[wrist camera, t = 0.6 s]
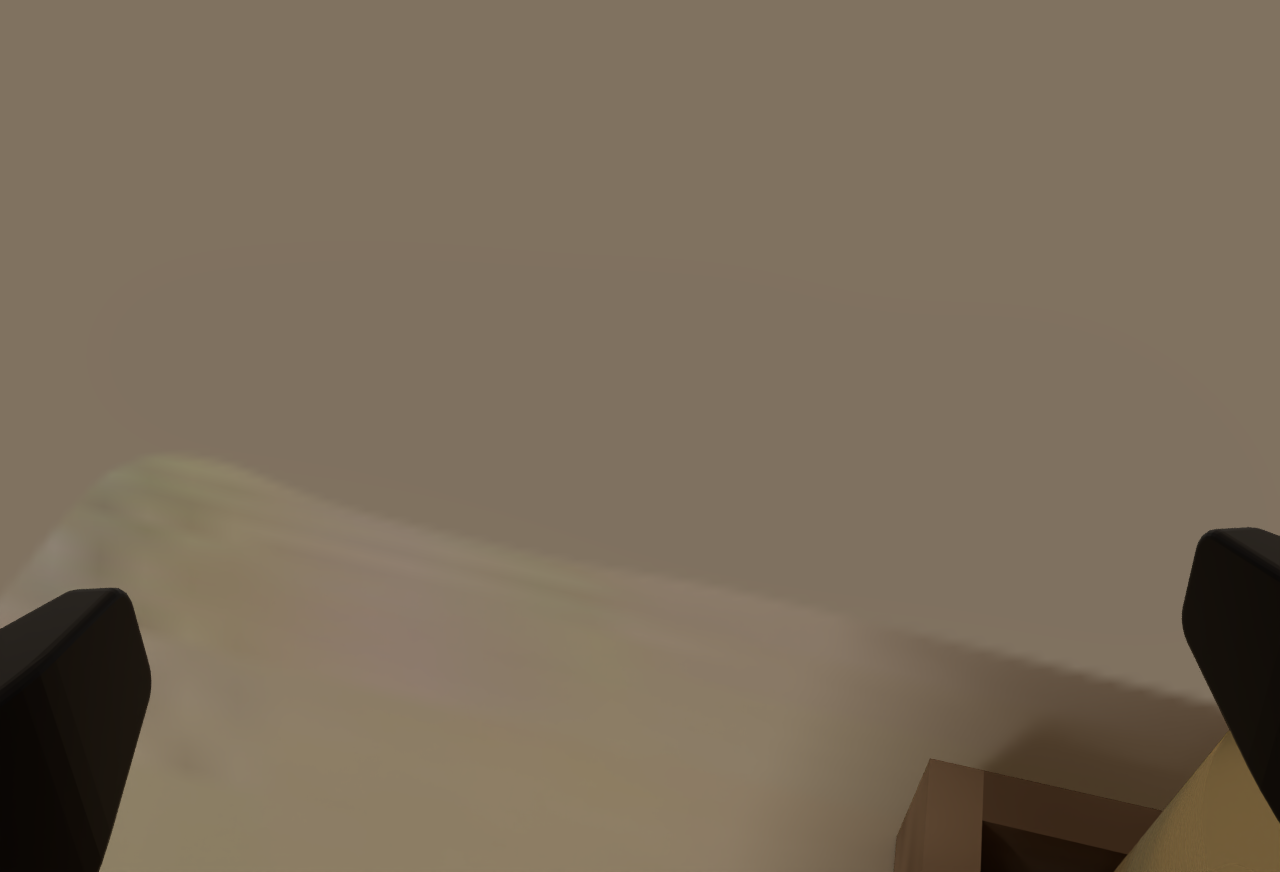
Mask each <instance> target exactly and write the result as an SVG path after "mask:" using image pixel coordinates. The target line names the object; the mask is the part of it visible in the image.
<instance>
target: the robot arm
mask: <svg viewBox="0 0 1280 872" xmlns="http://www.w3.org/2000/svg"><path fill="white" fill-rule="evenodd" d="M1182 625H1183V630H1184V635H1185V637H1186V640H1187V643H1188V645H1189V647H1190V649H1191V651H1192V653H1193V655H1194V657H1195V659H1196V661H1197V663H1198V666H1199V668H1200V670H1201V672H1202V674H1203V676H1204V678H1205V680H1206V682H1207V684H1208V686H1209V688H1210V690H1211V692H1212V694H1213V697H1214V699H1215V701H1216V703H1217V705H1218V707H1219V709H1220V711H1221V713H1222V715H1223V717H1224V719H1225V721H1226V723H1227V725H1228V728H1229V730H1230V732H1231V734H1232V736H1233V738H1234V740H1235V742H1236V744H1237V746H1238V748H1239V750H1240V752H1241V754H1242V756H1243V759H1244V761H1245V763H1246V765H1247V767H1248V769H1249V770H1250V772H1251V774H1252V776H1253V778H1254V780H1255V782H1256V784H1257V786H1258V788H1259V789H1260V791H1261V793H1262V795H1263V796H1264V798H1265V800H1266V801H1267V803H1268V805H1269V807H1270V808H1271V810H1272V812H1273V813H1274V815H1275V817H1276V818H1277V820H1278V822H1279V823H1280V536H1278V535H1275V534H1273V533H1270V532H1267V531H1265V530H1262V529H1258V528H1251V527H1247V528H1228V529H1214V530H1210V531H1208V532H1207V533H1205V534H1204V535H1203V536H1202V537H1201V539H1200V540H1199V542H1198V545H1197V548H1196V552H1195V556H1194V561H1193V565H1192V569H1191V573H1190V578H1189V582H1188V587H1187V591H1186V596H1185V600H1184V604H1183V610H1182ZM150 693H151V671H150V666H149V662H148V659H147V655H146V651H145V648H144V644H143V640H142V637H141V633H140V630H139V626H138V622H137V619H136V615H135V611H134V608H133V605H132V602H131V600H130V598H129V597H128V595H127V593H125V592H124V591H122V590H121V589H119V588H97V589H77V590H72V591H69V592H66V593H64V594H62V595H61V596H59V597H57V598H55V599H53V600H52V601H50V602H48V603H46V604H44V605H43V606H41V607H39V608H37V609H35V610H34V611H32V612H30V613H28V614H26V615H25V616H23V617H21V618H19V619H17V620H16V621H14V622H12V623H10V624H8V625H7V626H5V627H3V628H1V629H0V872H99V870H100V867H101V864H102V862H103V859H104V855H105V852H106V849H107V846H108V843H109V840H110V836H111V833H112V830H113V826H114V823H115V819H116V815H117V812H118V808H119V805H120V801H121V798H122V794H123V791H124V787H125V784H126V780H127V777H128V773H129V770H130V766H131V762H132V759H133V755H134V752H135V748H136V745H137V741H138V738H139V734H140V731H141V727H142V724H143V720H144V717H145V713H146V709H147V706H148V702H149V698H150Z"/></svg>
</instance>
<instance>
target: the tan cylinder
mask: <svg viewBox="0 0 1280 872" xmlns="http://www.w3.org/2000/svg"><path fill="white" fill-rule="evenodd" d="M1114 872H1280V823H1279V822H1278V820H1277V818H1276V817H1275V815H1274V813H1273V812H1272V810H1271V808H1270V807H1269V805H1268V803H1267V801H1266V800H1265V798H1264V796H1263V795H1262V793H1261V791H1260V789H1259V788H1258V786H1257V784H1256V782H1255V780H1254V778H1253V776H1252V774H1251V772H1250V770H1249V769H1248V767H1247V765H1246V763H1245V761H1244V759H1243V756H1242V754H1241V752H1240V750H1239V748H1238V746H1237V744H1236V742H1235V740H1234V738H1233V736H1232V734H1231V732H1230V730H1229V731H1228V732H1227V733H1226V735H1225V736H1224V737H1223V738H1222V740H1221V741H1220V742H1219V743H1218V745H1217V746H1216V747H1215V748H1214V749H1213V751H1212V752H1211V753H1210V754H1209V756H1208V757H1207V758H1206V759H1205V760H1204V762H1203V763H1202V764H1201V765H1200V767H1199V768H1198V769H1197V770H1196V772H1195V773H1194V774H1193V775H1192V776H1191V778H1190V779H1189V780H1188V781H1187V783H1186V784H1185V785H1184V786H1183V787H1182V789H1181V790H1180V791H1179V792H1178V794H1177V795H1176V796H1175V797H1174V798H1173V800H1172V801H1171V802H1170V803H1169V805H1168V806H1167V807H1166V808H1165V810H1164V811H1163V812H1162V813H1161V814H1160V816H1159V817H1158V818H1157V819H1156V821H1155V822H1154V823H1153V824H1152V825H1151V827H1150V828H1149V829H1148V830H1147V832H1146V833H1145V834H1144V835H1143V837H1142V838H1141V839H1140V840H1139V841H1138V843H1137V844H1136V845H1135V846H1134V848H1133V849H1132V850H1131V851H1130V852H1129V854H1128V855H1127V856H1126V857H1125V859H1124V860H1123V861H1122V862H1121V864H1120V865H1119V866H1118V867H1117V868H1116V870H1115V871H1114Z"/></svg>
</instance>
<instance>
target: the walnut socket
mask: <svg viewBox="0 0 1280 872" xmlns="http://www.w3.org/2000/svg"><path fill="white" fill-rule="evenodd" d="M1162 812H1163V811H1160V810H1156V809H1151V808H1147V807H1142V806H1138V805H1134V804H1129V803H1125V802H1120V801H1116V800H1111V799H1107V798H1103V797H1098V796H1094V795H1089V794H1085V793H1081V792H1076V791H1072V790H1067V789H1063V788H1058V787H1054V786H1050V785H1045V784H1041V783H1036V782H1032V781H1028V780H1023V779H1019V778H1014V777H1010V776H1005V775H1001V774H997V773H992V772H988V771H983V770H979V769H975V768H970V767H966V766H961V765H957V764H952V763H948V762H944V761H939V760H935V759H930V760H929V763H928V765H927V767H926V770H925V772H924V774H923V777H922V779H921V781H920V784H919V786H918V788H917V791H916V793H915V795H914V798H913V800H912V802H911V805H910V807H909V809H908V812H907V814H906V816H905V819H904V821H903V823H902V826H901V828H900V830H899V833H898V835H897V840H896V852H895V863H894V872H1114V871H1115V870H1116V868H1117V867H1118V866H1119V865H1120V864H1121V862H1122V861H1123V860H1124V859H1125V857H1126V856H1127V855H1128V854H1129V852H1130V851H1131V850H1132V849H1133V848H1134V846H1135V845H1136V844H1137V843H1138V841H1139V840H1140V839H1141V838H1142V837H1143V835H1144V834H1145V833H1146V832H1147V830H1148V829H1149V828H1150V827H1151V825H1152V824H1153V823H1154V822H1155V821H1156V819H1157V818H1158V817H1159V816H1160V814H1161V813H1162Z"/></svg>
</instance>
